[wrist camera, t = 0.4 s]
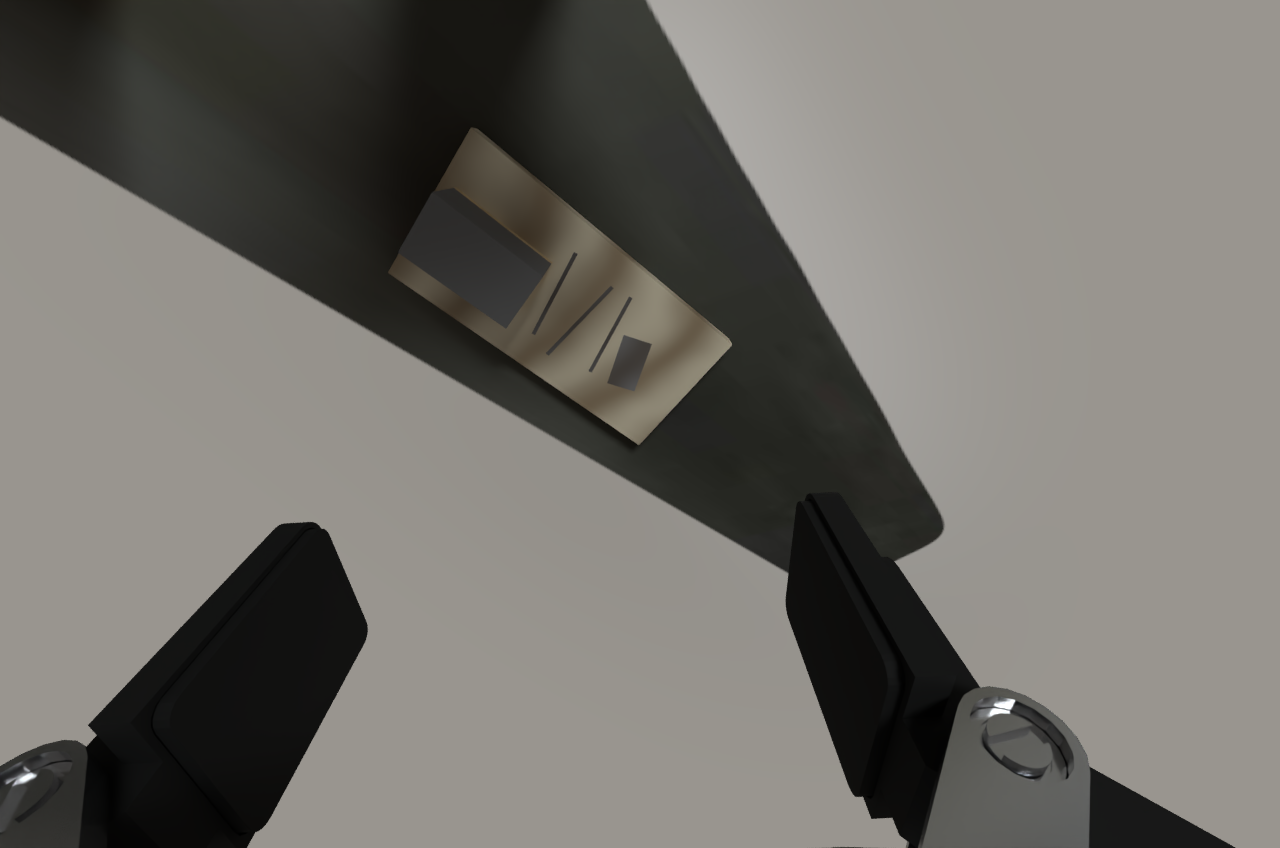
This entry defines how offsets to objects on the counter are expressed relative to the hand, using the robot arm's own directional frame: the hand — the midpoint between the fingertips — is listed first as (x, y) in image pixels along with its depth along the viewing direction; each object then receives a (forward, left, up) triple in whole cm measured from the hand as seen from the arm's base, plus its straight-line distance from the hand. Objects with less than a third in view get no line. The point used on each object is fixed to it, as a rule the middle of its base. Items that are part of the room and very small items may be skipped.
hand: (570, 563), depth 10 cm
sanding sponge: (-3, -8, -31) cm, 32 cm away
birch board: (+2, -4, -33) cm, 33 cm away
